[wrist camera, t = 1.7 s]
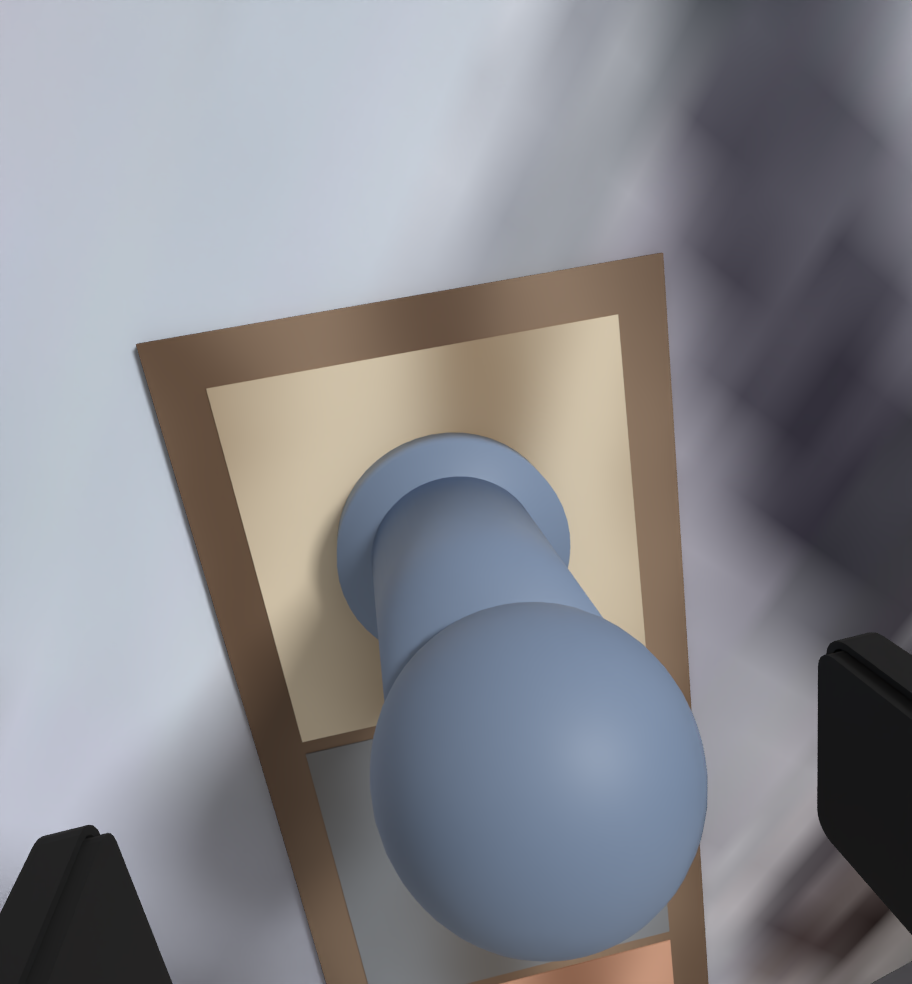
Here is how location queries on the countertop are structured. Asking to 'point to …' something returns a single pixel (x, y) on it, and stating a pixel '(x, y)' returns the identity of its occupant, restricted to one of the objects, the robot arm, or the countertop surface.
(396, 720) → the pawn
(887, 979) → the die
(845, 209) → the countertop surface
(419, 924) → the board
